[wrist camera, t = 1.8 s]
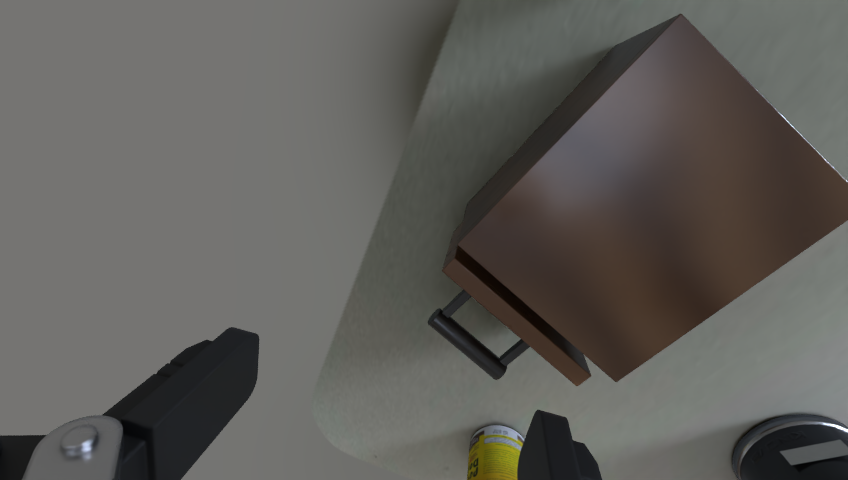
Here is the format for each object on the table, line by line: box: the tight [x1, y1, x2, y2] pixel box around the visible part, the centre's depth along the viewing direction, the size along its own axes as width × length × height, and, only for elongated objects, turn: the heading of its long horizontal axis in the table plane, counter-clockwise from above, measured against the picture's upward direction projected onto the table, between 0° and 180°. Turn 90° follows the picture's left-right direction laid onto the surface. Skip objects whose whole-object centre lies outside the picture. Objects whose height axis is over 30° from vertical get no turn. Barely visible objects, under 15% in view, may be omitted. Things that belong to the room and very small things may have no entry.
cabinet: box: [457, 14, 848, 382], centre depth 25 cm, size 15×13×10 cm
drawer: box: [428, 222, 591, 386], centre depth 26 cm, size 18×11×8 cm, turn 139°
